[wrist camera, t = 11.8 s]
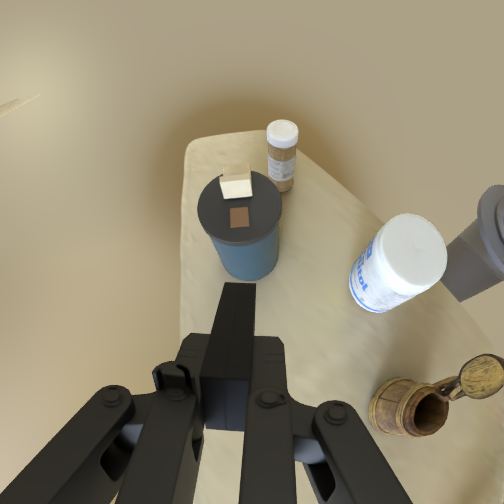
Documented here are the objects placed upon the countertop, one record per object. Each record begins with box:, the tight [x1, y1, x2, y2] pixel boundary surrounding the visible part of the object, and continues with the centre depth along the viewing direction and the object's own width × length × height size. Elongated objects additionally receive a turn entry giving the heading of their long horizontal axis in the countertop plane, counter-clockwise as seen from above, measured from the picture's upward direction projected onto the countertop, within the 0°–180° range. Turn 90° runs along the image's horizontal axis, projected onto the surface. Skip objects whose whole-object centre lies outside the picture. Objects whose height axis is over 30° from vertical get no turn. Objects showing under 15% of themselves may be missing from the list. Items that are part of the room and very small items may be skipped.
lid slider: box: [220, 162, 253, 199], centre depth 33 cm, size 4×3×3 cm
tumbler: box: [197, 171, 282, 281], centre depth 41 cm, size 10×10×15 cm
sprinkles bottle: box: [267, 120, 298, 192], centre depth 46 cm, size 5×5×13 cm
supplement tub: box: [349, 213, 447, 313], centre depth 37 cm, size 10×10×15 cm
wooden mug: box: [368, 354, 504, 437], centre depth 28 cm, size 9×14×18 cm, turn 119°
